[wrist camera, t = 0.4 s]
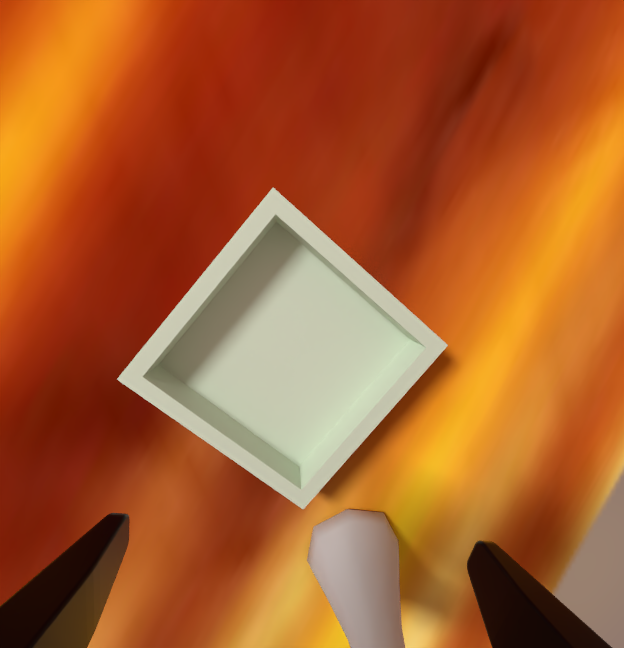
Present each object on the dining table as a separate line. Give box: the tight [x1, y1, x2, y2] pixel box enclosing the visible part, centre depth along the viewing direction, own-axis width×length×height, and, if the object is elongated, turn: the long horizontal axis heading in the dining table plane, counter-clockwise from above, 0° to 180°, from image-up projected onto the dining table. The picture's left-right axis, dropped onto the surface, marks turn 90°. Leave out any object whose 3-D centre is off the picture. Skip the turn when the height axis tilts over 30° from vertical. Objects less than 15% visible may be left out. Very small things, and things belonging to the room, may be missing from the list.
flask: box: [307, 509, 405, 648], centre depth 20 cm, size 7×7×10 cm
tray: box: [117, 188, 448, 509], centre depth 21 cm, size 14×14×3 cm
